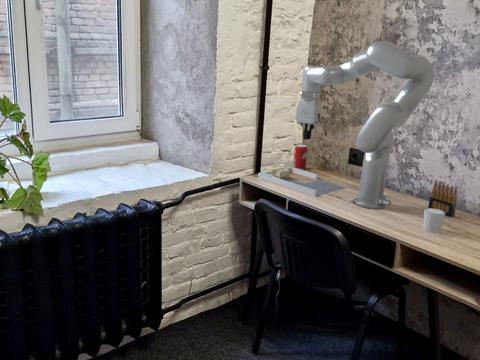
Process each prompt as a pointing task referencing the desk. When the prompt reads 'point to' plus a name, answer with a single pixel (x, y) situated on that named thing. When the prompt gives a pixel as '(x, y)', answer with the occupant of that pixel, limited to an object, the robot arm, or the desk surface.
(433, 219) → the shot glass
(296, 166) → the beverage can
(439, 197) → the ammunition clip
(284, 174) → the wooden block
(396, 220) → the desk surface
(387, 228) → the desk surface
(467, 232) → the desk surface
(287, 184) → the box
